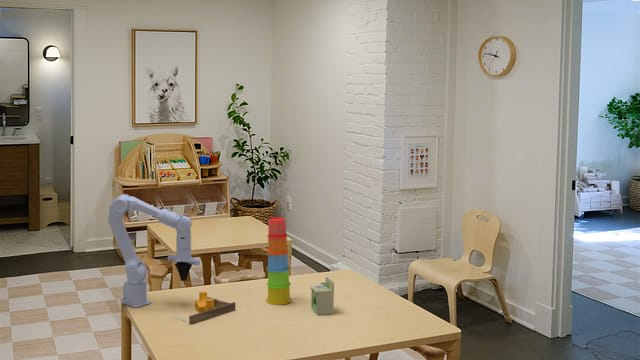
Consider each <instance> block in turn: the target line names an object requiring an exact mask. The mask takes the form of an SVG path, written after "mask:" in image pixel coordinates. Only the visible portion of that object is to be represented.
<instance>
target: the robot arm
mask: <svg viewBox="0 0 640 360" xmlns="http://www.w3.org/2000/svg"><path fill="white" fill-rule="evenodd" d="M136 211H139V212H142V213H144V214H148V215H149V216H152V217H154V218H156V219H157V221H158V222H159V223H161V224H163V225H165V226H168V227H170V228H172V229H175V231H176V240H175V241H176V247H175V249H176V251H175V253H176V255H175V254H170V255H168V256H167V261H169V262H170V261H172V262H176V263H175V264H174V266H175V268H176V269H177V272H178V275H179V278H180V281H182V282H185V281H188V276H189V273H190V269H191V268H192V266H193V265H194V266H200V265H201V260H200V259H198V258H194V257H192V234H191V233H192V232H191V228H192V224H193V222H192V219H191V218H190V217H189V216H188V215H183V214H181V213H179V214H178V213H176V212H174V211H172V210H171V208H162V209H159V208H157V207H156V206H153V205H151V204H149V203H147V202H145V201H143V200H140V199H139V198H137V197H135V196H131V195H129V194H126V193H122V194H119V196H117V197H116V198H114V199H113V201H112V202H111V203H110V205H109V211H108V218H107V221H108V222H107V223H108V224H109V227H110V229H111V232H112V234H113V236H114V238H115V239H114V240H115V241H116V243H117V246H118V248H119V251H120V253H121V255H122V257H123V260H124V262H125V263H124V264H125V270H126V279H127V280H126V281H125V282H124V283H123V285H122V300H121V301H120V303H121V304H124V305H127V306H130V307H133V308H140V307H143V306H147V305H150V304H152V302H151V301H149V300H147V299H148V297H147V296H148V295H147V294H148V293H147V291H148V290H147V288H148V287H147V283H148V282H147V279H146V275H147V273H148V267H147V266H146V264H144V263H143V261H142V260H141V258H140V257H139V256H138V254H137V253H136V250H135V247H134V246H133V243H132V240H131V238H130V235H129V233H128V230H127V229H126V226H125V224H124V221H123V219H124V217H125V216H126V213H127V212H129V213H130V212H136Z"/></svg>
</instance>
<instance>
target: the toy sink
mask: <svg viewBox="0 0 640 360" xmlns="http://www.w3.org/2000/svg"><path fill="white" fill-rule="evenodd" d="M310 289H311V294H310V295H311V304H310V305H311V310H312V312H314V314H316V316H320V315H321V316H323V315H333V314H334V308H335V306H334V302H335V297H334V296H335V281H334V280H333V279H332V278H331V277H329V276H325V281H324V282H320V284H317V285H316V284H315V285H311V286H310Z"/></svg>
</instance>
